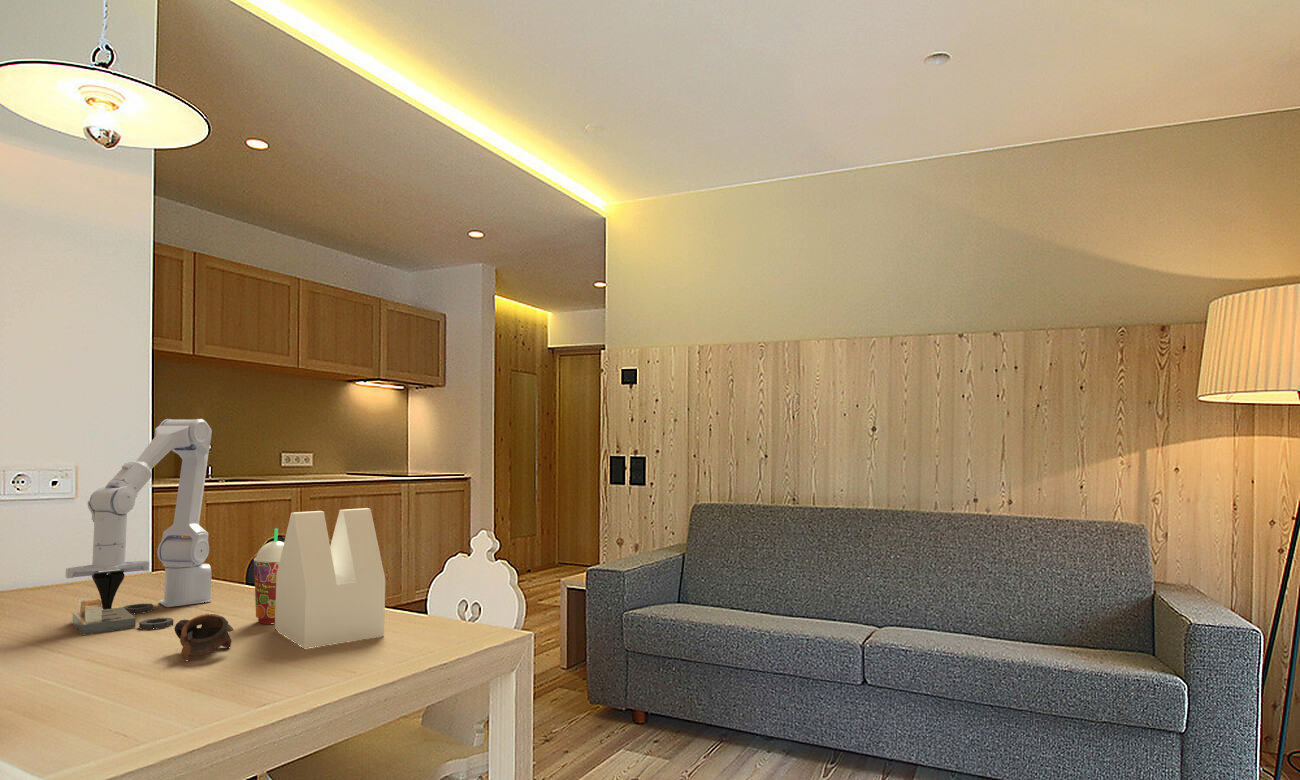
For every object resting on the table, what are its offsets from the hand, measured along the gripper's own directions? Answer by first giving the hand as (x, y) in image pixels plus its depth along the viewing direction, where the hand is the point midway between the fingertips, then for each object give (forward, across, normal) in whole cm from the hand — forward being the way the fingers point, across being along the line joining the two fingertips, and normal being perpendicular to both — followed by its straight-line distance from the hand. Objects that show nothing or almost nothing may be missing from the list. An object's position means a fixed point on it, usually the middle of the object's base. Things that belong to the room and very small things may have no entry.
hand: (106, 608), depth 165 cm
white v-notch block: (+4, +32, -38) cm, 50 cm away
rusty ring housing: (+4, +9, -38) cm, 39 cm away
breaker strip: (+3, 0, 0) cm, 3 cm away
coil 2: (+3, +8, -8) cm, 12 cm away
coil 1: (+3, +8, +10) cm, 13 cm away
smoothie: (+4, +27, -20) cm, 34 cm away
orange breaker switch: (+1, -2, 0) cm, 3 cm away
